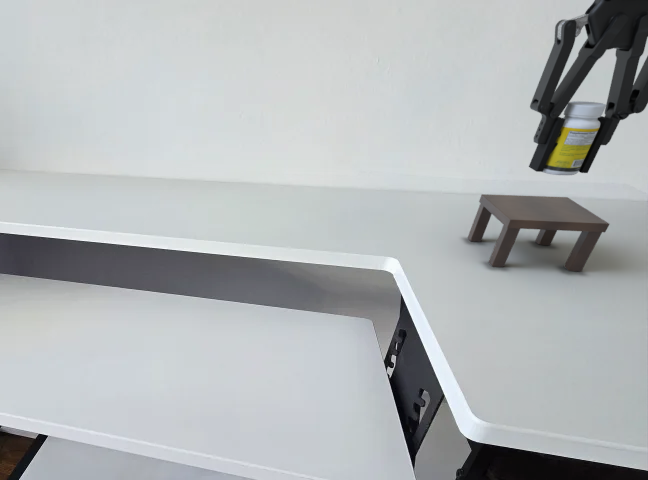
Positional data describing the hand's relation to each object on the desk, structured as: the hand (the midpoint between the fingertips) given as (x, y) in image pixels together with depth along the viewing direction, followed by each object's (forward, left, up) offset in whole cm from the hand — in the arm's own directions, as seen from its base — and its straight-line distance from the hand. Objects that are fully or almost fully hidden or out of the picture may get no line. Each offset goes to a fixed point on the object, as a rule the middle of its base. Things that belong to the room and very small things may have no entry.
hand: (557, 169), depth 68 cm
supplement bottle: (0, 0, -1) cm, 1 cm away
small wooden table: (0, 0, -12) cm, 12 cm away
